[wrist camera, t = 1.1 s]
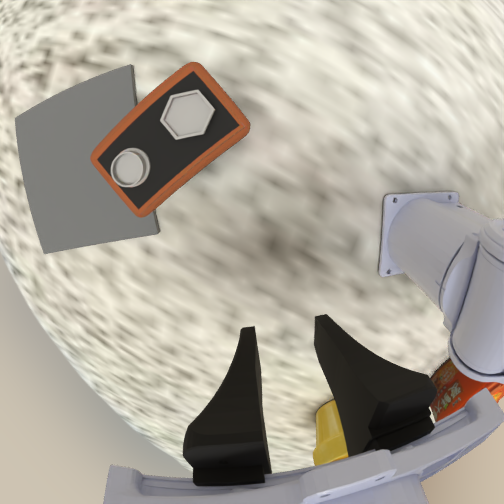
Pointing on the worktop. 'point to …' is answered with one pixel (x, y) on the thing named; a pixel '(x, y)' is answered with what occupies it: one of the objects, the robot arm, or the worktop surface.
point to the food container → (457, 390)
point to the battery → (169, 138)
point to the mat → (77, 165)
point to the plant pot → (329, 435)
